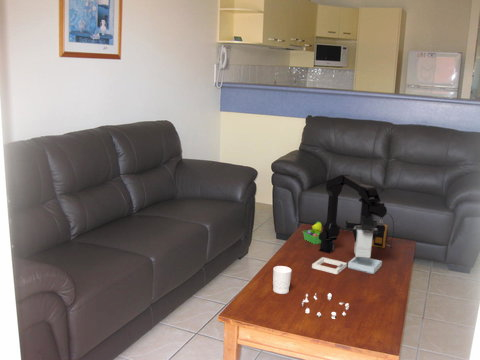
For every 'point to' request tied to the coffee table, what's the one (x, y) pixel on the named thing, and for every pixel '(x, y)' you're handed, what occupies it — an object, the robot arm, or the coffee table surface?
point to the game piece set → (328, 299)
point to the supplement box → (363, 243)
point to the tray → (365, 264)
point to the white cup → (281, 279)
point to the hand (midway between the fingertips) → (363, 242)
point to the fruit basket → (313, 234)
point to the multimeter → (382, 236)
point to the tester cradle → (331, 270)
